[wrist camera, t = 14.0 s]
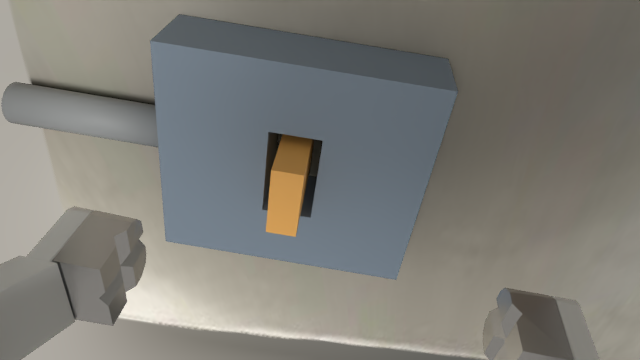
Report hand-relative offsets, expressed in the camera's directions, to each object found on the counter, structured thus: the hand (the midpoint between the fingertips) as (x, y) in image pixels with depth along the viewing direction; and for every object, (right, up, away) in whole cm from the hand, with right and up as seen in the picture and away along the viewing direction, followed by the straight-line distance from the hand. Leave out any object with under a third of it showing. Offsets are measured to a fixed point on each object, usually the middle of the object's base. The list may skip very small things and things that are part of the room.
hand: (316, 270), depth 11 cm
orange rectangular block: (-1, +5, +26) cm, 26 cm away
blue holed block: (-7, +6, +26) cm, 28 cm away
